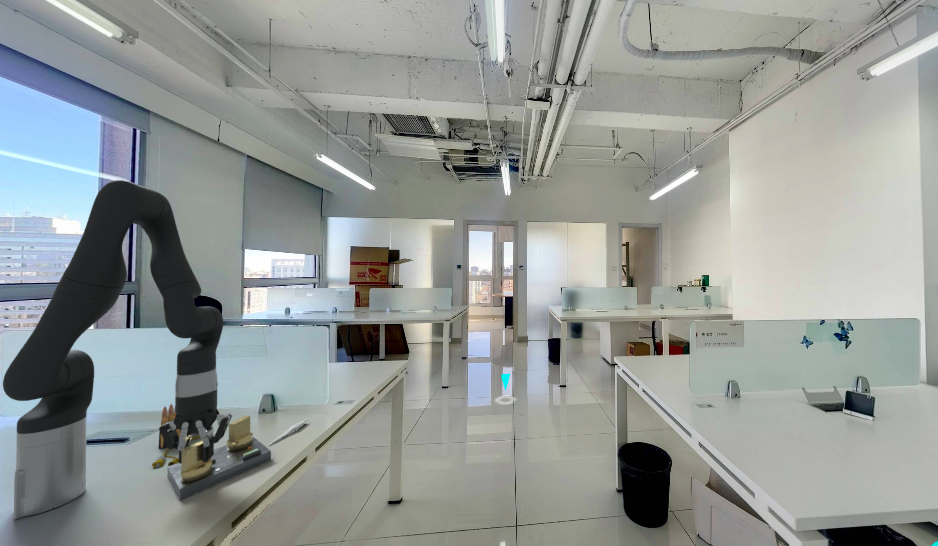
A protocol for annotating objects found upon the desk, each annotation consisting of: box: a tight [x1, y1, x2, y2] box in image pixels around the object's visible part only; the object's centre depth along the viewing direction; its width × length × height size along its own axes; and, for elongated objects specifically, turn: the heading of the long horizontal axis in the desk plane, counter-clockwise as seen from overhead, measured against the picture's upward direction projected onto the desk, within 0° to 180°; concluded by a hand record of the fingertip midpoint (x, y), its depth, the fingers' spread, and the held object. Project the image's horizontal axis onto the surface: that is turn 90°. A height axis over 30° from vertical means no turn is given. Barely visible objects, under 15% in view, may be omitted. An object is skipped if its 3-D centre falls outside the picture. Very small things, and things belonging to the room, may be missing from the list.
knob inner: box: [181, 440, 216, 482], centre depth 72 cm, size 6×6×7 cm
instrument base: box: [167, 435, 272, 501], centre depth 78 cm, size 18×14×4 cm
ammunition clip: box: [158, 403, 181, 449], centre depth 93 cm, size 11×2×12 cm, turn 176°
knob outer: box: [226, 415, 253, 451], centre depth 84 cm, size 6×6×7 cm
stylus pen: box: [267, 418, 309, 447], centre depth 95 cm, size 15×3×2 cm, turn 165°
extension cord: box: [151, 435, 201, 469], centre depth 86 cm, size 12×16×2 cm
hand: (196, 461), depth 71 cm, fingers closed on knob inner, 3 cm apart
